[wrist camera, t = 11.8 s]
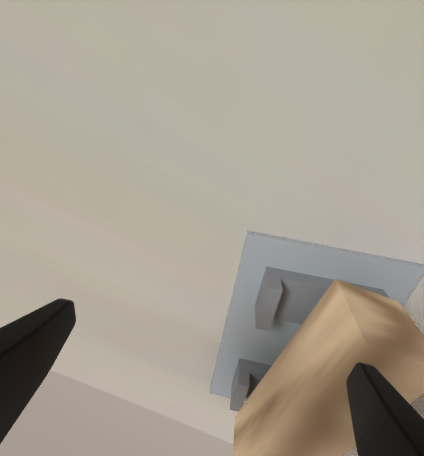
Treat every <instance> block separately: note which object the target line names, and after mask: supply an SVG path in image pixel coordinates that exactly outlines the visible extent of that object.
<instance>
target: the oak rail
mask: <svg viewBox="0 0 424 456" xmlns="http://www.w3.org/2000/svg"><path fill="white" fill-rule="evenodd" d="M358 362H363V363H367V364H371V365H373V366H374V367H375V368H376V369H377V370H378V371H379V372H380V373H381V374H382V375H383V376H384V377H385V378H386V379H387V380H388V381H389V383H390V384H391V385H392V386H393V387H394V388H395V389H396V390H397V391H398V392H399V393H400V394H401V395H402V396H403V397H404V399H405V400H406V401H407V402H408V403H409V404H410V403H412V402H413V401H414V400H416V399H417V398H418V397H419V396H421V395H422V394H423V393H424V336H423V334H422V333H421V332H420V330H419V329H418V328H417V326H416V325H415V324H414V322H413V321H412V319H411V318H410V317H409V315H408V314H407V313H406V311H405V310H404V308H403V307H402V306H401V304H400V303H399V302H398V301H395V300H393V299H390V298H387V297H385V296H382V295H379V294H376V293H374V292H371V291H368V290H366V289H363V288H360V287H357V286H355V285H352V284H349V283H347V282H344V281H341V280H339V279H336V278H335V280H334V281H333V283H332V284H331V285H330V287H329V288H328V289H327V291H326V292H325V294H324V295H323V296H322V298H321V299H320V300H319V302H318V303H317V305H316V306H315V307H314V309H313V310H312V311H311V313H310V314H309V316H308V317H307V318H306V320H305V321H304V322H303V324H302V325H301V326H300V328H299V329H298V331H297V332H296V333H295V335H294V336H293V337H292V339H291V340H290V342H289V343H288V344H287V346H286V347H285V348H284V350H283V351H282V353H281V354H280V355H279V357H278V358H277V359H276V361H275V362H274V363H273V365H272V366H271V368H270V369H269V370H268V372H267V373H266V374H265V376H264V377H263V379H262V380H261V381H260V383H259V384H258V385H257V387H256V388H255V390H254V391H253V392H252V394H251V395H250V396H249V398H248V399H247V401H246V402H245V403H244V405H243V406H242V407H241V409H240V410H239V411H238V413H237V414H236V416H235V428H234V448H233V449H234V450H233V456H343V455H345V454H346V453H347V452H349V451H350V450H351V449H352V448H354V447H355V446H356V443H355V437H354V432H353V425H352V419H351V413H350V406H349V400H348V394H347V387H346V381H347V377H348V376H349V374H350V372H351V371H352V369H353V368H354V366H355V364H356V363H358Z"/></svg>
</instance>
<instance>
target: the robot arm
mask: <svg viewBox="0 0 424 456" xmlns="http://www.w3.org/2000/svg"><path fill="white" fill-rule="evenodd" d="M75 322H76V315H75V308H74V303H73V301H71V300H67V299H62V298H61V299H57V300H55V301H53V302H51V303H49V304H47V305H45V306H43V307H41V308H39V309H37V310H35V311H33V312H31V313H29V314H27V315H25V316H23V317H21V318H19V319H17V320H15V321H13V322H11V323H9V324H7V325H5V326H3V327H1V328H0V444H1V442H2V441H3V439H4V438H5V436H6V435H7V433H8V432H9V430H10V429H11V427H12V426H13V424H14V423H15V421H16V420H17V419H18V417H19V416H20V414H21V413H22V411H23V410H24V408H25V407H26V405H27V404H28V402H29V401H30V399H31V398H32V396H33V395H34V393H35V392H36V390H37V389H38V388H39V386H40V385H41V383H42V382H43V380H44V379H45V377H46V376H47V374H48V372H49V371H50V369H51V367H52V366H53V364H54V362H55V360H56V358H57V356H58V355H59V353H60V351H61V349H62V347H63V345H64V344H65V342H66V340H67V338H68V336H69V335H70V333H71V331H72V329H73V327H74V325H75ZM346 387H347V394H348V400H349V406H350V413H351V419H352V425H353V432H354V437H355V443H356V447H357V452H358V456H424V419H423V418H422V417H421V416H420V415H419V414H418V412H417V411H416V410H415V409H414V408H413V407H412V406H411V405H410V404H409V403H408V402H407V401H406V400H405V399H404V397H403V396H402V395H401V394H400V393H399V392H398V391H397V390H396V389H395V388H394V387H393V386H392V385H391V384H390V383H389V381H388V380H387V379H386V378H385V377H384V376H383V375H382V374H381V373H380V372H379V371H378V370H377V369H376V368H375V367H374V366H373V365H371V364H367V363H363V362H358V363H356V364H355V366H354V368H353V369H352V371H351V372H350V374H349V376H348V377H347V381H346Z"/></svg>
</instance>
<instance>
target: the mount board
mask: <svg viewBox="0 0 424 456" xmlns="http://www.w3.org/2000/svg"><path fill="white" fill-rule="evenodd" d="M423 274H424V265H422V264H417V263H411V262H406V261H401V260H396V259H390V258H385V257H380V256H375V255H370V254H364V253H359V252H354V251H349V250H343V249H338V248H333V247H328V246H323V245H317V244H312V243H307V242H302V241H296V240H291V239H286V238H281V237H276V236H270V235H265V234H260V233H255V232H249V231H248V232H247V236H246V240H245V244H244V249H243V253H242V257H241V261H240V266H239V270H238V274H237V278H236V282H235V287H234V291H233V295H232V299H231V303H230V308H229V312H228V316H227V320H226V325H225V329H224V333H223V337H222V341H221V346H220V350H219V354H218V358H217V362H216V367H215V371H214V375H213V379H212V384H211V388H210V393H211V394H216V395H220V396H224V397H229V398H231V403H230V410H234V411H239V410H240V409H241V407H242V406H243V403H244V401H247V399H248V398H249V396H250V395H251V394H252V392H253V391H254V390H255V388H256V387H257V385H258V384H259V383H260V381H261V380H262V379H263V377H264V376H265V374H266V373H267V372H268V370H269V369H270V368H271V366H272V365H273V363H274V362H275V361H276V359H277V358H278V357H279V355H280V354H281V353H282V351H283V350H284V348H285V347H286V346H287V344H288V343H289V342H290V340H291V339H292V337H293V336H294V335H295V333H296V332H297V331H298V329H299V328H300V326H301V325H302V324H303V322H304V321H305V320H306V318H307V317H308V316H309V314H310V313H311V311H312V310H313V309H314V307H315V306H316V305H317V303H318V302H319V300H320V299H321V298H322V296H323V295H324V294H325V292H326V291H327V289H328V288H329V287H330V285H331V284H332V283H333V281H334V280H335V278H336V279H339V280H341V281H344V282H347V283H349V284H352V285H355V286H357V287H360V288H363V289H366V290H368V291H371V292H374V293H376V294H379V295H382V296H385V297H387V298H390V299H393V300H395V301H398V302H399V303H400V304H401V306H402V307H403V305H404V304H405V302H406V301H407V299H408V297H409V296H410V294H411V293H412V291H413V290H414V288H415V287H416V285H417V284H418V282H419V280H420V279H421V277H422V276H423Z"/></svg>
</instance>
